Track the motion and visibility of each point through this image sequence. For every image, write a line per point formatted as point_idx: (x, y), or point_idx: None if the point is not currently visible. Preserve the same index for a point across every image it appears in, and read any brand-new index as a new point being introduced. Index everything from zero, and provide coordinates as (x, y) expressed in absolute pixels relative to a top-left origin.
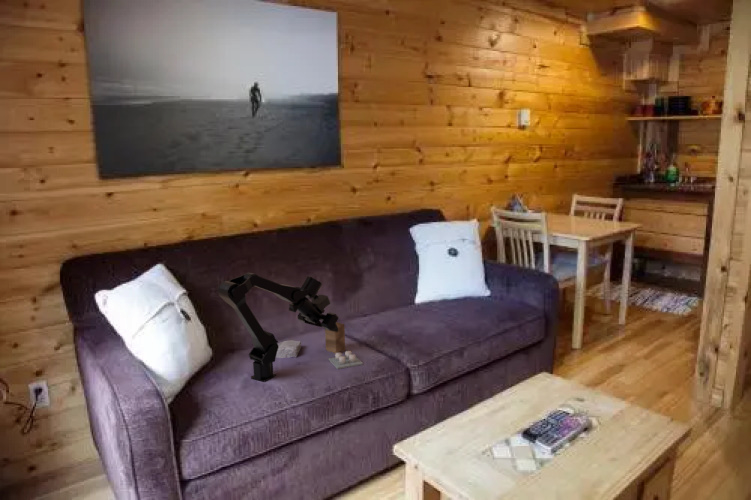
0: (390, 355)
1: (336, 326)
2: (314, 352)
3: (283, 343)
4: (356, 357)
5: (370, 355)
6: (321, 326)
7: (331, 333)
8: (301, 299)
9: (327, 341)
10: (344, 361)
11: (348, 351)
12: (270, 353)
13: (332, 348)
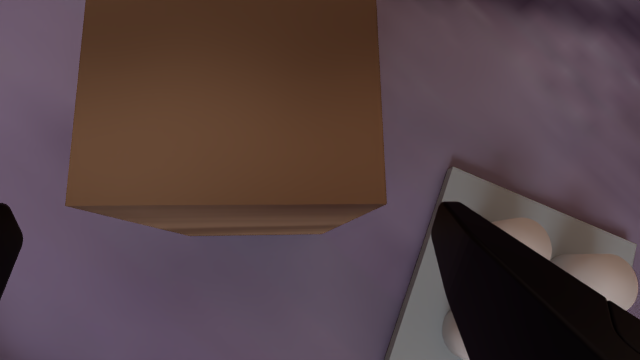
0: (612, 6)
1: (560, 283)
2: (139, 339)
3: None
4: (522, 196)
5: (527, 85)
6: (15, 244)
7: (273, 218)
8: None
9: (201, 230)
10: None
11: (517, 238)
12: None
13: (280, 232)
